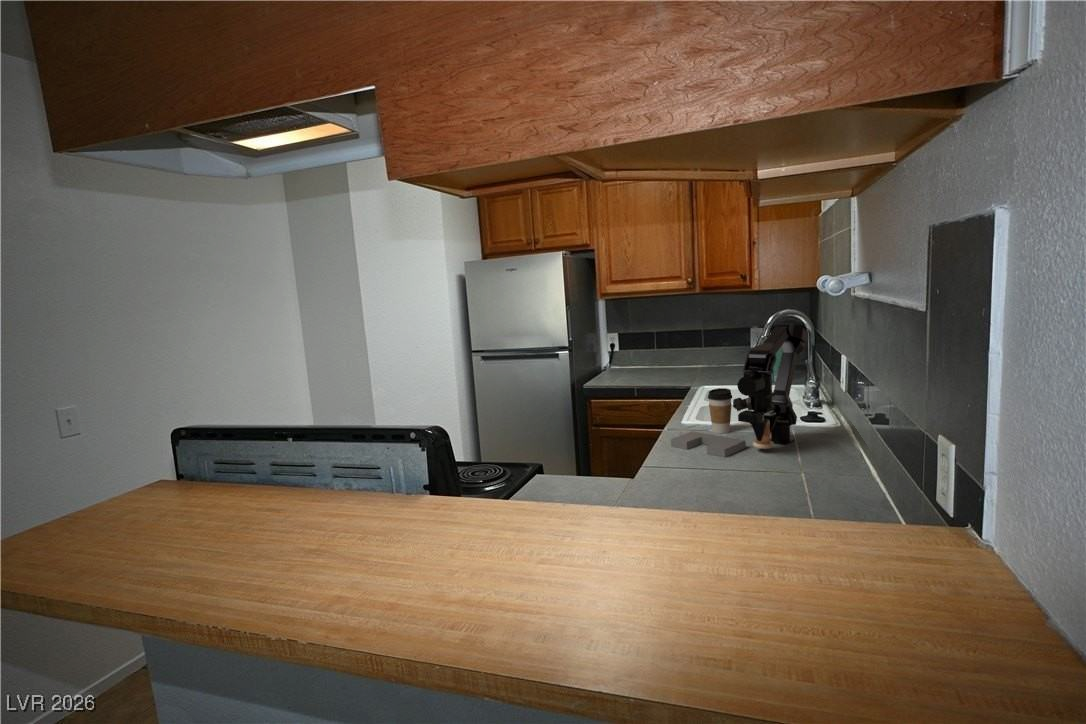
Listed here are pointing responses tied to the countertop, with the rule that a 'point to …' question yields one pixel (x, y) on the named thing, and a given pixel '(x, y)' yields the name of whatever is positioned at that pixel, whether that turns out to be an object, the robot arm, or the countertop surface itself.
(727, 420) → the coffee cup
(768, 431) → the spool
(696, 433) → the gray u-shaped block
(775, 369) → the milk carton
